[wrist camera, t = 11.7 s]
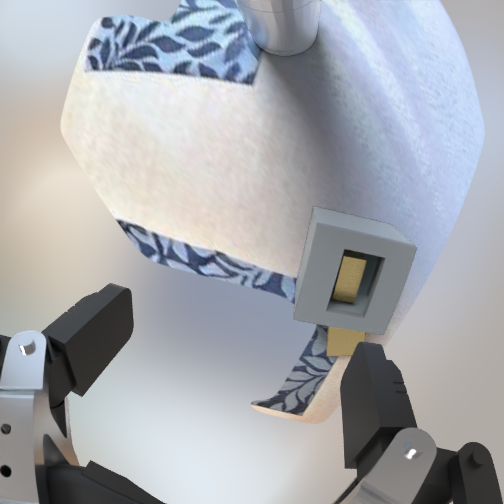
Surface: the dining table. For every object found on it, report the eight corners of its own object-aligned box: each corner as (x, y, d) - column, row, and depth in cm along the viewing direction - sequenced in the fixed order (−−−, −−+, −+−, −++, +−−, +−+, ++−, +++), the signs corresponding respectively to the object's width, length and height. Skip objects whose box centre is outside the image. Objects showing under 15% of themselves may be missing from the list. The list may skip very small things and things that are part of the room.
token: (327, 316, 45) (328, 326, 42) (363, 314, 44) (366, 325, 41) (326, 345, 47) (326, 356, 44) (359, 343, 46) (362, 354, 43)
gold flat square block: (328, 279, 41) (338, 241, 39) (348, 282, 41) (358, 244, 39) (332, 299, 36) (343, 256, 34) (353, 302, 36) (366, 260, 33)
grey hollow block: (313, 206, 39) (317, 224, 30) (392, 224, 38) (417, 247, 29) (295, 283, 43) (293, 319, 34) (369, 297, 42) (383, 335, 33)
